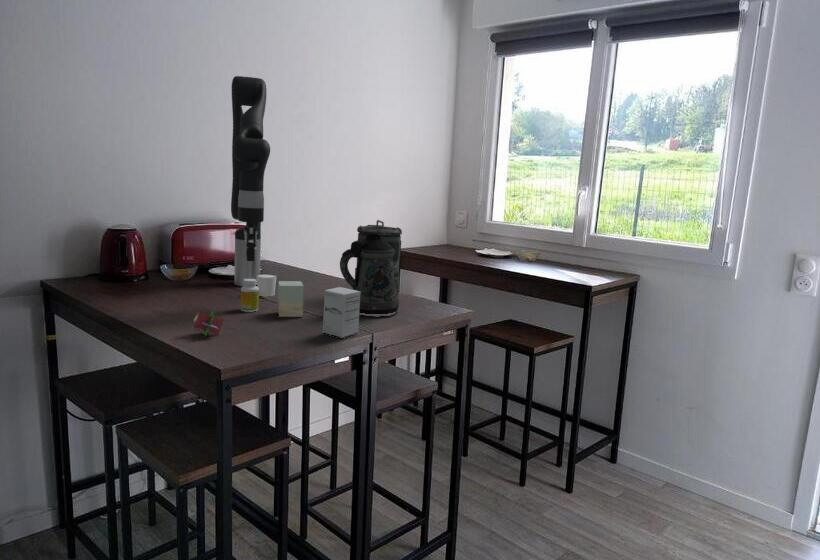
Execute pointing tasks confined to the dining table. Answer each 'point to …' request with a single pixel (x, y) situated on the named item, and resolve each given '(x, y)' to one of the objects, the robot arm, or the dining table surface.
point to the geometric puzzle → (208, 323)
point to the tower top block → (290, 291)
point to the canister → (391, 238)
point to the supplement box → (341, 311)
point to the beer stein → (372, 274)
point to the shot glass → (266, 284)
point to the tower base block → (290, 308)
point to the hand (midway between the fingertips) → (250, 258)
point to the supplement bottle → (249, 296)
